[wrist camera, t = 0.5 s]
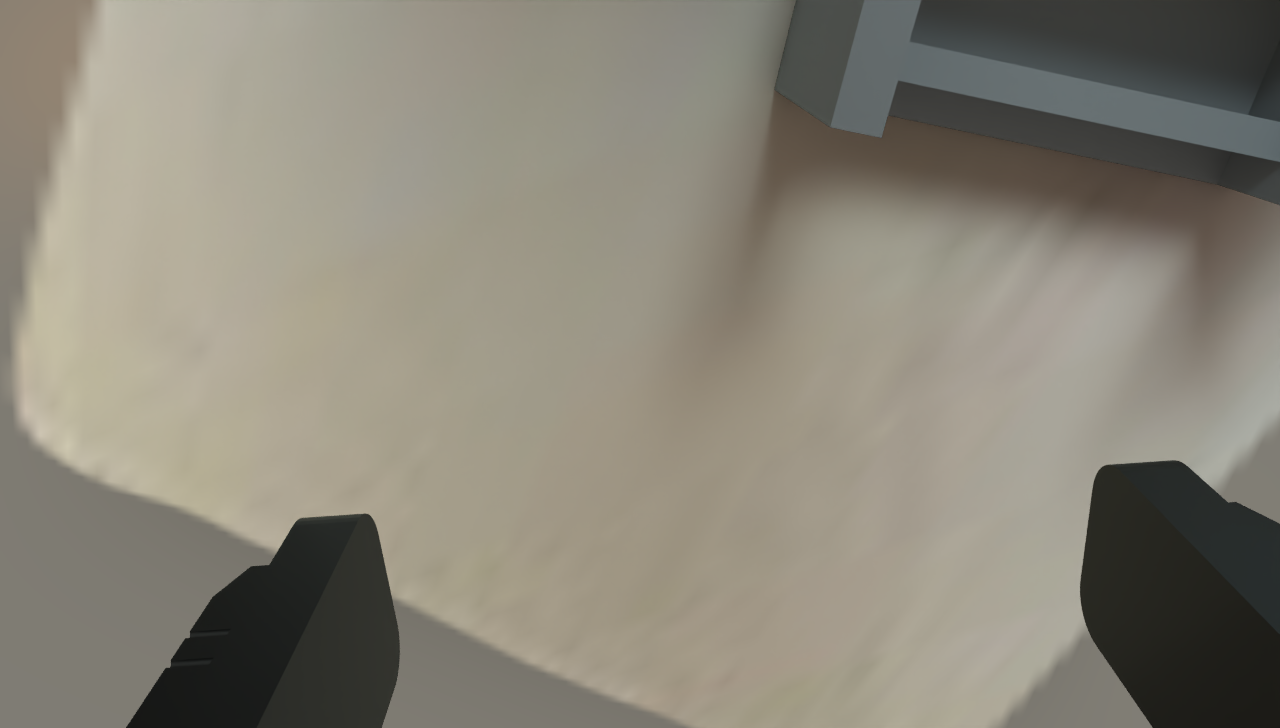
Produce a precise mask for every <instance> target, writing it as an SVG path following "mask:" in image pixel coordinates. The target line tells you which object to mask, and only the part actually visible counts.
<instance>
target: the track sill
mask: <svg viewBox="0 0 1280 728" xmlns="http://www.w3.org/2000/svg"><path fill="white" fill-rule="evenodd" d="M774 90H776V91H777V92H779V93H780V94H782V95H783V96H785V97H786V98H788V99H789V100H791V101H792V102H793V103H795V104H796V105H798V106H799V107H801V108H802V109H804V110H805V111H807V112H808V113H810V114H811V115H813V116H814V117H816V118H817V119H819V120H820V121H822V122H823V123H825V124H826V125H828V126H829V127H831V128H836V129H841V130H846V131H850V132H855V133H860V134H865V135H870V136H874V137H879V138H882V134H883V131H884V127H885V124H886V120H887V117H888V115H889V116H893V117H898V118H903V119H908V120H912V121H917V122H922V123H927V124H931V125H936V126H941V127H946V128H951V129H955V130H960V131H965V132H970V133H974V134H979V135H984V136H989V137H993V138H998V139H1003V140H1008V141H1013V142H1017V143H1022V144H1027V145H1032V146H1036V147H1041V148H1046V149H1051V150H1055V151H1060V152H1065V153H1070V154H1075V155H1079V156H1084V157H1089V158H1094V159H1098V160H1103V161H1108V162H1113V163H1117V164H1122V165H1127V166H1132V167H1137V168H1141V169H1146V170H1151V171H1156V172H1160V173H1165V174H1170V175H1175V176H1179V177H1184V178H1189V179H1194V180H1199V181H1203V182H1208V183H1213V184H1218V185H1221V186H1224V187H1227V188H1230V189H1233V190H1236V191H1239V192H1242V193H1245V194H1248V195H1251V196H1254V197H1257V198H1260V199H1263V200H1266V201H1269V202H1272V203H1275V204H1278V205H1280V0H796V3H795V7H794V12H793V16H792V20H791V24H790V28H789V32H788V36H787V40H786V44H785V48H784V52H783V57H782V61H781V65H780V69H779V73H778V77H777V81H776V85H775V89H774Z"/></svg>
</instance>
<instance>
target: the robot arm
mask: <svg viewBox="0 0 1280 728" xmlns="http://www.w3.org/2000/svg"><path fill="white" fill-rule="evenodd" d="M1080 597H1081V606H1082V611H1083V616H1084V619H1085V623H1086V626H1087V628H1088V631H1089V633H1090V635H1091V637H1092V639H1093V641H1094V642H1095V644H1096V645H1097V647H1098V649H1099V650H1100V652H1101V653H1102V654H1103V656H1104V657H1105V659H1106V660H1107V662H1108V663H1109V665H1110V666H1111V667H1112V669H1113V670H1114V672H1115V673H1116V675H1117V676H1118V677H1119V679H1120V681H1121V682H1122V683H1123V685H1124V686H1125V688H1126V689H1127V691H1128V692H1129V693H1130V695H1131V697H1132V698H1133V699H1134V701H1135V702H1136V704H1137V705H1138V707H1139V708H1140V710H1141V711H1142V712H1143V714H1144V715H1145V717H1146V718H1147V720H1148V721H1149V723H1150V724H1151V725H1152V727H1153V728H1280V524H1279V523H1277V522H1275V521H1273V520H1271V519H1269V518H1267V517H1265V516H1263V515H1261V514H1259V513H1257V512H1255V511H1253V510H1251V509H1249V508H1247V507H1245V506H1243V505H1241V504H1239V503H1237V502H1230V503H1228V502H1227V501H1226V500H1225V499H1223V498H1222V497H1221V496H1220V495H1219V494H1218V493H1217V492H1216V491H1215V490H1213V489H1212V488H1211V487H1210V486H1209V485H1208V484H1207V483H1206V482H1204V481H1203V480H1202V479H1201V478H1200V477H1199V476H1198V475H1197V474H1195V473H1194V472H1193V471H1192V470H1191V469H1190V468H1189V467H1188V466H1186V465H1185V464H1184V463H1182V462H1179V461H1174V460H1172V461H1157V462H1143V463H1128V464H1113V465H1105V466H1103V467H1102V468H1101V469H1100V470H1099V471H1098V473H1097V475H1096V477H1095V480H1094V484H1093V490H1092V497H1091V505H1090V513H1089V520H1088V528H1087V536H1086V543H1085V551H1084V559H1083V566H1082V574H1081V582H1080ZM399 644H400V643H399V631H398V625H397V621H396V615H395V611H394V606H393V601H392V596H391V592H390V587H389V582H388V577H387V573H386V568H385V563H384V559H383V554H382V549H381V544H380V540H379V535H378V531H377V528H376V525H375V522H374V520H373V519H372V517H371V516H370V515H369V514H354V515H339V516H324V517H310V518H301V519H299V520H297V521H296V522H295V524H294V525H293V527H292V528H291V530H290V532H289V533H288V535H287V537H286V538H285V540H284V542H283V543H282V545H281V547H280V548H279V550H278V552H277V553H276V555H275V557H274V558H273V560H272V562H271V563H270V565H265V566H252V567H250V568H249V569H247V570H246V571H245V572H243V573H242V574H241V575H240V576H238V577H237V578H236V579H235V580H234V581H232V582H231V583H230V584H229V585H228V586H226V587H225V588H224V589H222V590H221V591H220V592H218V593H217V594H216V595H215V596H213V597H212V599H211V600H210V602H209V604H208V605H207V606H206V608H205V609H204V611H203V612H202V614H201V616H200V617H199V619H198V620H197V622H196V623H195V625H194V626H193V628H192V629H191V631H190V638H186V639H185V640H184V641H183V643H182V644H181V646H180V647H179V649H178V650H177V652H176V653H175V655H174V656H173V658H172V659H171V667H170V668H166V669H165V670H164V671H163V673H162V674H161V676H160V677H159V679H158V681H157V682H156V683H155V685H154V687H153V688H152V689H151V691H150V693H149V694H148V696H147V697H146V698H145V700H144V702H143V703H142V705H141V706H140V708H139V709H138V711H137V712H136V714H135V715H134V717H133V718H132V720H131V722H130V723H129V724H128V726H127V727H126V728H382V725H383V722H384V719H385V716H386V713H387V709H388V707H389V703H390V700H391V697H392V694H393V691H394V688H395V685H396V681H397V676H398V668H399V655H400V645H399Z"/></svg>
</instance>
